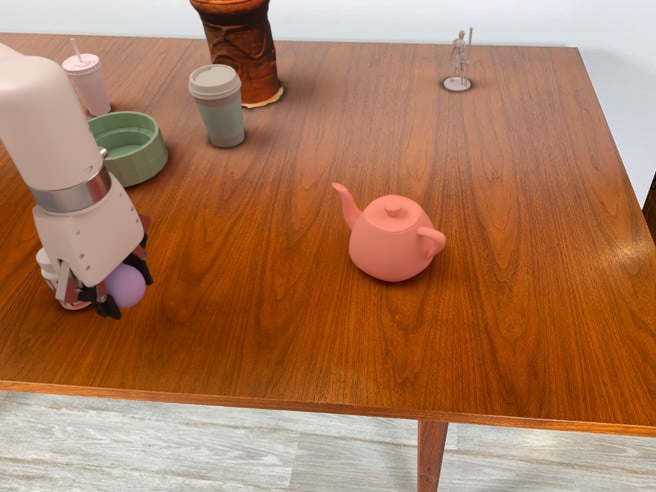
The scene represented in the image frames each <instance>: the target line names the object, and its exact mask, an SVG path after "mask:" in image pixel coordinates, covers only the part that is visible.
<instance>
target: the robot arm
mask: <svg viewBox="0 0 656 492" xmlns="http://www.w3.org/2000/svg"><path fill="white" fill-rule="evenodd" d="M72 84H73V83H72V81H71V79H70V77H69V76H68V74H66V72H65V71H64V69H63V67H62V65H60V64H58V63H57V62H56V61H55V60H52V59H50V58H48V57H44V56H39V55H25V54H23V53H20V52H19V51H17V50H15V49H14V48H11V47H9V46H8V45H6V44H4V43H2V42H0V141H1V142H2V144H3V146H4V148H5V150H6V151H7V153H8V154H9V157H10V158H11V160H12V162H13V164H14V166H15V167H16V169H17V171H18V173H19V174H20V176H21V178H22V180H23V182H24V183H25V185H26V186H27V188H28V190H29V192H30V194H31V196H32V197H33V199H34V201H35V202H36V205H35V206H34V207H33V208H32V211H31V212H32V216H33V221H34V225H35V229H36V232H37V235H38V237H39V240H40V242H41V245H42V248H43V247H44V250H45V252H46V254H47V256H48V258H49V260H50V262H51V264H52V266H53V268H54V270H55V271H56V273H57V274H58V276H59V279H58V285H57V290H56V296H55V295H54V296H55V297H54V298H55V300H56V301H58V302H59V301H61V302H63V303H75V302H79V301H82V302H91V305H92V307H93V309H94V311H95V312H96V313H95V314H97V315H98V316H100V317H103V318H106V319H107V318H108V317H109V318H110V319H114V320H116V321H120V320H121V318H122V317H123V316H122V315H123V314H122V313H121V310H120V309H119V308H118V306H117V304H116V302H115V300H114V298H113V297H112V296H111V295H109V294H106V287H105V280H104V278H105V277H107V276H108V275H109V274H110V273H111V272H112V271H113V270H114V269H115V268H116V267H117V266H118V265H119V264H126V265H130V266H132V267H134V268H136V269H137V270H138V271H139V272H140V273H141V274H142V276H143V277H144V280H145V285H146V286H148V287H149V286H152V285H153V283H154V280H153V279H154V278H153V277H152V274H151V272H150V268H149V267H148V264H147V261H146V259H147V257H148V251H147V250H146V247H147V242H148V238H149V235H148V233H149V229H150V226H151V223H152V217H151V216H149V215H146V214H142V213H139V212H137V210H136V207H135V205H134V204H133V202H132V200H131V198H130V196H129V195H128V193H127V191H126V189H125V187H122V186H121V184H120V183H119V181H118V180H117V179H116V178H115V176H114V175H113V174H112V173H110V172H108V170H107V167H106V165H105V163H104V161H105V158H106V157H108V152H107V150H106V149H105V148H104V147H102V146H97V144H96V141H95V139H94V137H93V134H92V132H91V129H90V127H89V125H88V122H87V117H86V115H85V113H84V110H83V108H82V105H81V103H80V101H79V99H78V97H77V93H76V91H75V89H74V86H73V85H72ZM76 278H78V284H79V288H75V284H76ZM92 286H93V287H94V288H91V287H92Z"/></svg>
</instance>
